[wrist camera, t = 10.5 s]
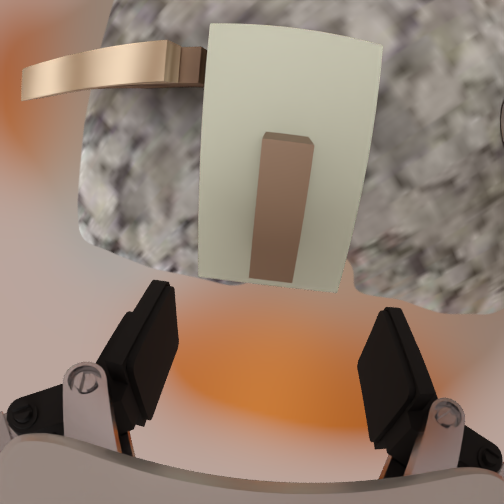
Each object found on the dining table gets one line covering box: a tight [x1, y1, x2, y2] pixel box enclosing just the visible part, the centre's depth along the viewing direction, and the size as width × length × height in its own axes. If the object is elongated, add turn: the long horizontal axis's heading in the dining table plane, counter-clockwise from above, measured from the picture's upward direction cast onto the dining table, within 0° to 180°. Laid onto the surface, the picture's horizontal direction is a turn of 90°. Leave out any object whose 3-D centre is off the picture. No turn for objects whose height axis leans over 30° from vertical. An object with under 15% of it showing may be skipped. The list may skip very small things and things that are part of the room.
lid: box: [198, 24, 383, 293], centre depth 21 cm, size 13×22×6 cm, turn 175°
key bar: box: [21, 40, 181, 101], centre depth 18 cm, size 14×3×3 cm, turn 85°
